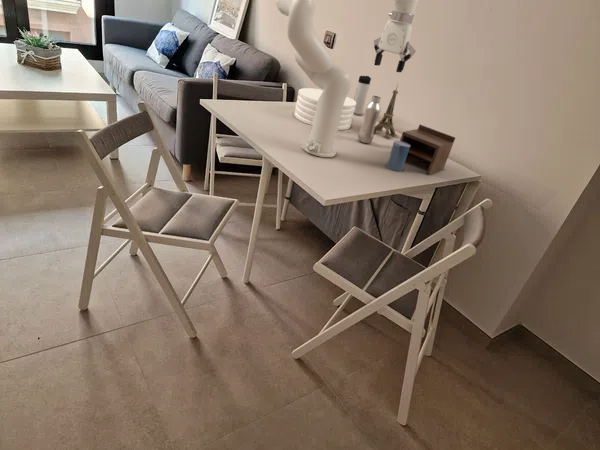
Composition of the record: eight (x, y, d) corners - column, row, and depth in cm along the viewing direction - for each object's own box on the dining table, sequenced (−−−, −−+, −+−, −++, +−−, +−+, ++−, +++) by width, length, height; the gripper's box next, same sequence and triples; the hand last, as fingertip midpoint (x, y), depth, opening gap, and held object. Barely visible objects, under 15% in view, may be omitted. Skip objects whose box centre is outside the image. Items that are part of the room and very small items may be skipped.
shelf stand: (428, 175, 163) (441, 141, 156) (393, 160, 171) (404, 127, 165) (443, 169, 173) (455, 137, 167) (409, 155, 181) (420, 124, 175)
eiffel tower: (377, 129, 210) (392, 78, 198) (396, 135, 206) (413, 84, 194) (368, 131, 202) (383, 78, 190) (388, 139, 197) (405, 85, 185)
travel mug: (363, 114, 232) (373, 77, 222) (358, 116, 226) (368, 78, 217) (353, 111, 234) (362, 74, 224) (348, 112, 229) (357, 75, 219)
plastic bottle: (371, 146, 182) (384, 100, 173) (356, 142, 183) (368, 96, 173) (371, 142, 188) (384, 97, 178) (357, 138, 188) (369, 93, 179)
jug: (395, 173, 158) (404, 147, 153) (381, 166, 161) (389, 141, 156) (408, 168, 165) (416, 144, 160) (394, 162, 168) (402, 138, 164)
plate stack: (351, 119, 216) (356, 97, 211) (349, 134, 192) (356, 109, 186) (298, 107, 217) (302, 84, 211) (290, 120, 192) (294, 95, 187)
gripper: (376, 12, 150) (363, 62, 158) (418, 22, 141) (402, 74, 149) (386, 15, 155) (373, 63, 164) (428, 24, 147) (412, 74, 155)
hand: (387, 68), depth 157 cm, fingers open, 9 cm apart
